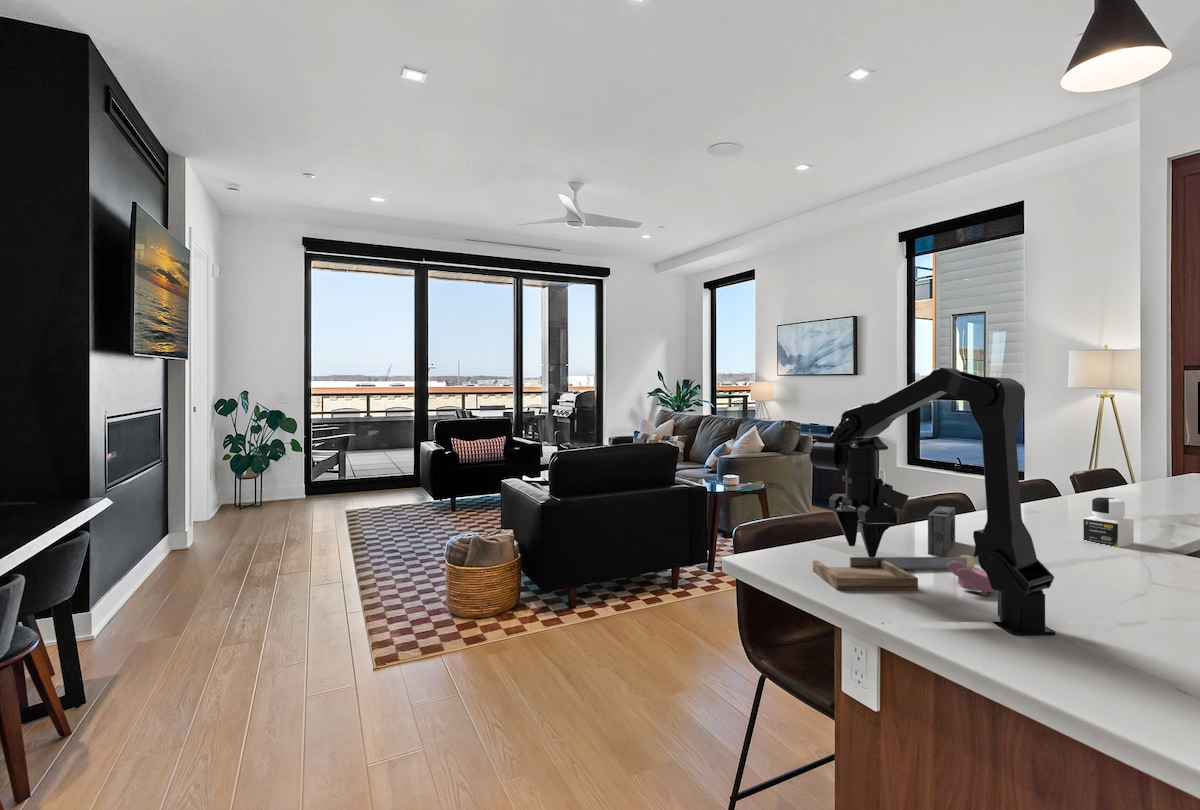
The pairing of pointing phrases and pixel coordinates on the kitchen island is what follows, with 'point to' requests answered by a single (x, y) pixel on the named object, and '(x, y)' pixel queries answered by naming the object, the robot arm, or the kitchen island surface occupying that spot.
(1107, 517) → the medicine bottle
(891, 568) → the brown wooden tray
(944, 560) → the gray metal bar
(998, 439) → the robot arm
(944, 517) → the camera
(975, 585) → the video game controller
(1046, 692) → the kitchen island surface
